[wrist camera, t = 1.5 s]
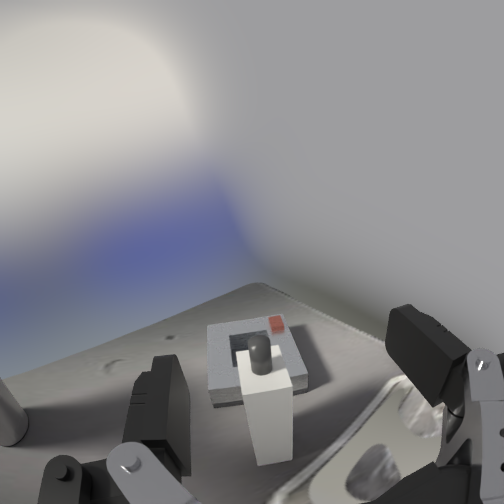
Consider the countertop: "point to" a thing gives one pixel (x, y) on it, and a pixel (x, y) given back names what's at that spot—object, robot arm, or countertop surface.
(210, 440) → the countertop surface
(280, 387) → the plug
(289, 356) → the socket box
